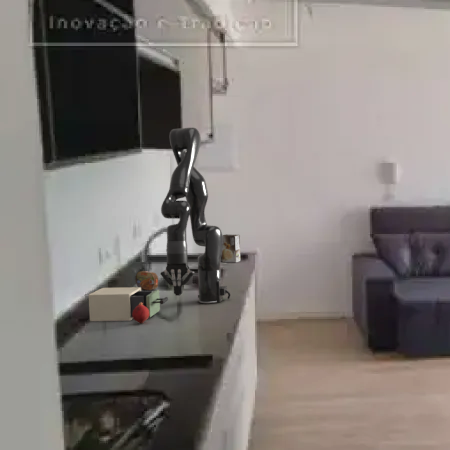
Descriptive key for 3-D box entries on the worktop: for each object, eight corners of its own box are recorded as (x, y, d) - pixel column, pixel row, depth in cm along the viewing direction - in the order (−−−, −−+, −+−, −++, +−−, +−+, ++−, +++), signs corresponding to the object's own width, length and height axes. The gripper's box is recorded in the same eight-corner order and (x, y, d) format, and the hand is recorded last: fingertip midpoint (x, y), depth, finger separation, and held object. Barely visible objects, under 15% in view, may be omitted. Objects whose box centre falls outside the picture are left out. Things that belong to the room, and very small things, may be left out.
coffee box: (241, 261, 378) (240, 234, 376) (236, 262, 371) (235, 235, 370) (226, 260, 379) (226, 234, 377) (221, 262, 373) (220, 235, 371)
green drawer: (170, 310, 252) (170, 289, 251) (161, 317, 241) (160, 295, 240) (124, 310, 251) (123, 290, 250) (113, 318, 239) (112, 296, 238)
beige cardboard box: (142, 312, 252) (141, 287, 251) (130, 320, 239) (129, 294, 238) (103, 313, 250) (102, 287, 249) (89, 321, 238) (88, 294, 237)
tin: (135, 287, 299) (134, 270, 298) (141, 286, 302) (140, 269, 301) (153, 291, 291) (153, 273, 290) (160, 290, 293) (159, 272, 293)
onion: (143, 326, 232) (142, 304, 231) (129, 325, 233) (128, 304, 232) (152, 322, 237) (152, 301, 237) (139, 321, 239) (138, 300, 238)
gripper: (197, 250, 249) (198, 293, 250) (162, 250, 248) (163, 293, 249) (191, 252, 241) (192, 297, 243) (156, 252, 240) (157, 297, 242)
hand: (178, 295), depth 246 cm, fingers closed
